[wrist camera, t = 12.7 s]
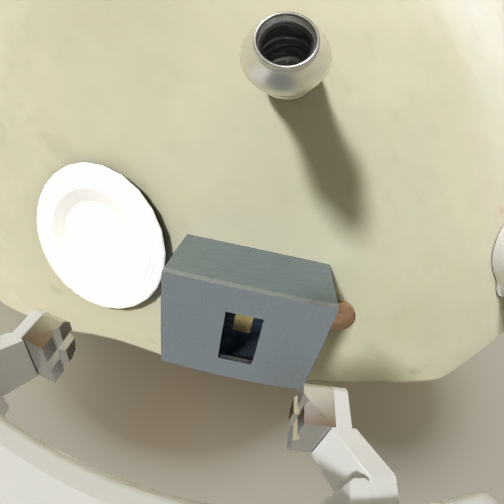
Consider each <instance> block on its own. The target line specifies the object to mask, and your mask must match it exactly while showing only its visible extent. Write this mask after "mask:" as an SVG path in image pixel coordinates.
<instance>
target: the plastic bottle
mask: <svg viewBox="0 0 504 504" xmlns="http://www.w3.org/2000/svg"><path fill="white" fill-rule="evenodd" d="M331 60H332V52H331V47H330V44H329V41H328V40H327V38H326V36H325V35H324V33H323V32H322V31H321V30H320V29H319V28H318V27H317V26H315V25H314V24H313V22H312V21H311V20H309V19H308V18H307V17H305V16H303V15H301V14H298V13H294V12H279V13H275V14H272V15H270V16H268V17H267V18H265V19H264V20H263V21H262V22H260V23H259V24H258V25H256V26H255V27H254V28H253V29H252V30H251V31H250V32H249V33H248V35H247V36H246V37H245V39H244V41H243V44H242V46H241V52H240V61H241V66H242V69H243V71H244V73H245V75H246V77H247V78H248V79H249V80H250V81H251V83H252V84H254V85H255V86H256V87H257V88H259V89H261V90H263V91H265V92H266V93H268V94H269V95H271V96H272V97H274V98H277V99H282V100H293V99H297V98H300V97H302V96H304V95H306V94H307V93H308V92H309V91H310V90H311V89H313V88H314V87H316V86H317V85H318V84H319V83H320V82H321V81H322V80H323V79H324V78H325V76H326V75H327V73H328V71H329V68H330V66H331Z"/></svg>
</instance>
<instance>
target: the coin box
mask: <svg viewBox="0 0 504 504" xmlns="http://www.w3.org/2000/svg"><path fill="white" fill-rule="evenodd" d="M338 310H339V306H338V301H337V296H336V292H335V287H334V282H333V277H332V273H331V268H330V265H328V264H324V263H319V262H315V261H310V260H305V259H301V258H296V257H291V256H287V255H282V254H277V253H273V252H268V251H263V250H259V249H254V248H249V247H245V246H240V245H235V244H231V243H226V242H221V241H217V240H212V239H207V238H203V237H198V236H193V235H188V234H187V236H186V237H185V238H184V240H183V241H182V243H181V244H180V245H179V247H178V248H177V250H176V251H175V252H174V254H173V255H172V257H171V258H170V260H169V261H168V262H167V264H166V265H165V267H164V268H163V270H162V276H161V357H162V359H161V360H163V361H167V362H170V363H175V364H178V365H182V366H185V367H189V368H193V369H197V370H201V371H205V372H210V373H214V374H218V375H223V376H227V377H232V378H237V379H242V380H246V381H252V382H257V383H262V384H268V385H274V386H280V387H286V388H293V389H298V388H299V387H300V385H301V384H302V383H305V382H306V380H307V378H308V376H309V374H310V372H311V369H312V367H313V365H314V363H315V361H316V359H317V357H318V355H319V353H320V351H321V348H322V346H323V344H324V342H325V340H326V337H327V335H328V333H329V331H330V328H331V326H332V324H333V322H334V319H335V317H336V315H337V312H338ZM236 314H239V315H244V316H248V317H253V322H252V326H251V330H250V333H246V332H242V331H237V330H233V325H234V320H235V315H236Z"/></svg>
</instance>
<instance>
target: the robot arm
mask: <svg viewBox="0 0 504 504" xmlns="http://www.w3.org/2000/svg"><path fill="white" fill-rule="evenodd" d="M492 267H493V272H494V275H495V277H496V280H497V284H496V292H497V294H498V295H499V296H501V297H504V226H503V228H502V229H501V231H500V233H499V235H498V238H497V240H496V243H495V246H494V250H493V256H492ZM71 330H72V328H71V325H70V322H67V321H65V320H63V319H61V318H58V317H56V316H54V315H52V314H49V313H47V312H45V311H42V310H40V309H35V310H33V311H32V312H31V313H30V314H29V315H28V316H27V317H26V319H25V320H24V321H23V322H22V323H21V324H20V325H19V326H18V327H17V328H16V329H15V331H14V332H13V333H12V334H11V333H6V334H4V335H1V336H0V504H208V503H204V502H199V501H195V500H190V499H186V498H182V497H178V496H175V495H171V494H167V493H164V492H160V491H157V490H154V489H151V488H148V487H145V486H141V485H139V484H136V483H133V482H130V481H127V480H124V479H122V478H119V477H116V476H114V475H111V474H109V473H106V472H104V471H102V470H99V469H97V468H95V467H92V466H90V465H88V464H86V463H84V462H81V461H79V460H77V459H75V458H73V457H71V456H69V455H67V454H65V453H63V452H61V451H59V450H57V449H55V448H54V447H52V446H50V445H48V444H46V443H45V442H42V441H41V440H39V439H38V438H36V437H34V436H32V435H31V434H29V433H27V432H26V431H24V430H23V429H21V428H20V427H18V426H16V425H15V424H13V423H12V422H10V421H9V420H7V419H6V418H4V415H5V414H6V412H7V411H8V409H9V406H8V404H7V402H6V401H5V399H4V398H3V396H4V395H5V394H7V393H9V392H11V391H12V390H14V389H16V388H18V387H19V386H21V385H23V384H25V383H26V382H28V381H30V380H32V379H33V378H35V377H37V376H38V375H41V376H43V377H45V378H47V379H49V380H51V381H53V382H56V381H57V379H58V378H59V376H60V375H61V374H62V372H63V371H64V368H63V365H64V364H66V363H68V362H70V360H71V359H72V357H73V355H74V352H75V340H74V338H73V336H72V335H71V334H70V332H71ZM288 422H289V424H290V425H291V429H290V430H289V432H288V441H287V449H288V450H295V451H303V452H312V453H311V454H312V456H313V458H314V459H315V461H316V463H317V464H318V466H319V468H320V469H321V471H322V473H323V475H324V476H325V478H326V480H327V481H328V483H329V485H330V486H331V488H332V490H333V491H334V493H333V494H332V495H331V496H329V497H328V498H326V499H325V500H324V501H322V502H321V503H320V504H399V499H398V491H397V483H396V476H395V474H394V473H393V472H392V471H391V470H390V468H388V466H387V465H386V464H385V463H384V462H383V460H382V459H381V458H380V457H379V456H378V454H377V453H376V452H375V451H374V449H373V448H372V447H371V446H370V445H369V443H368V442H367V441H366V440H365V439H364V437H363V436H362V435H361V434H360V433H359V431H358V430H357V429H353V428H352V421H351V413H350V405H349V399H348V391H347V389H346V388H338V387H330V386H323V385H314V384H306V383H302V384H301V385H300V387H299V388H298V395H297V396H295V397H294V399H293V401H292V403H291V406H290V411H289V420H288ZM431 504H499V503H497V502H496V501H495V500H494V499H493V498H492V497H491V496H490V495H488V494H487V493H486V492H484V491H478V492H474V493H470V494H467V495H463V496H460V497H456V498H452V499H448V500H444V501H440V502H436V503H431Z"/></svg>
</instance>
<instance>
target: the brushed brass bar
mask: <svg viewBox="0 0 504 504" xmlns="http://www.w3.org/2000/svg"><path fill="white" fill-rule="evenodd" d="M252 322H253V317H248V316H244V315H239V314H236V315H235V320H234V325H233V330H237V331H242V332H246V333H250V330H251V326H252Z"/></svg>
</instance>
